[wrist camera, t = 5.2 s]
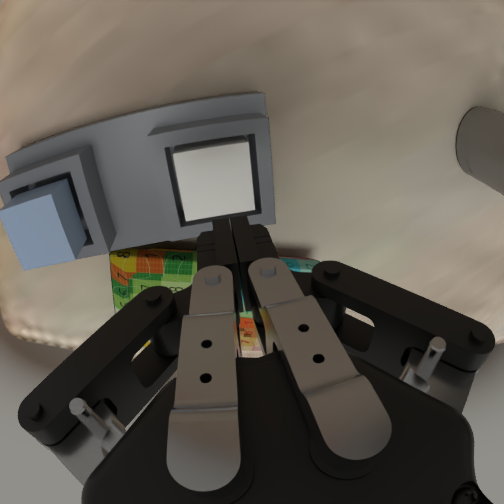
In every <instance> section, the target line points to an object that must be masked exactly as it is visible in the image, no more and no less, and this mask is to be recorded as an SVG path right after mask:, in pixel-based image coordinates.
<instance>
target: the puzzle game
mask: <svg viewBox="0 0 504 504" xmlns="http://www.w3.org/2000/svg"><path fill="white" fill-rule="evenodd" d="M109 257H110V270H111V281H112V291H113V300H114V308H115V314H116V313H117V312H118V311H119V310H120V309H122V308H123V307H124V306H125V305H126V304H127V303H128V302H130V301H131V300H132V299H133V298H134V297H135V296H136V295H138V294H139V293H140V292H141V291H143V290H144V289H146V288H149V287H152V286H165V287H168V288H169V289H171V291H172V292H173V293H175V292H178V291H180V290H183V289H185V288H187V287H188V286H190V285H191V284H192V281H193V277H194V275H195V274H196V272H197V251H189V250H174V249H159V248H150V249H149V250H147V249H131V248H125V249H120V250H114V251H110V254H109ZM278 257H279V259H280V260H282V261H284V262H285V263H286V264H287V266H288V268H289V269H290V270H293V271H298V272H312V268H313V267H314V266H315V265H316V264H317V263H319V262H320V261H318V260H314V259H309V258H295V257H280V256H278ZM241 292H242V291H241ZM242 301H243V296H242ZM243 309H244V312H242V313H240V320H241V321H240V334H241V347H242V351H262V350H261V347H260V344H259V341H258V338H257V335H256V332H255V329H254V324H253V315H252V311H247V312H246V311H245V306H244V301H243ZM150 343H151V342H150V340H149V341H148V342H147V343H146V344H145V345H144V346H143V347H147V346H148V345H149V344H150Z"/></svg>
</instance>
